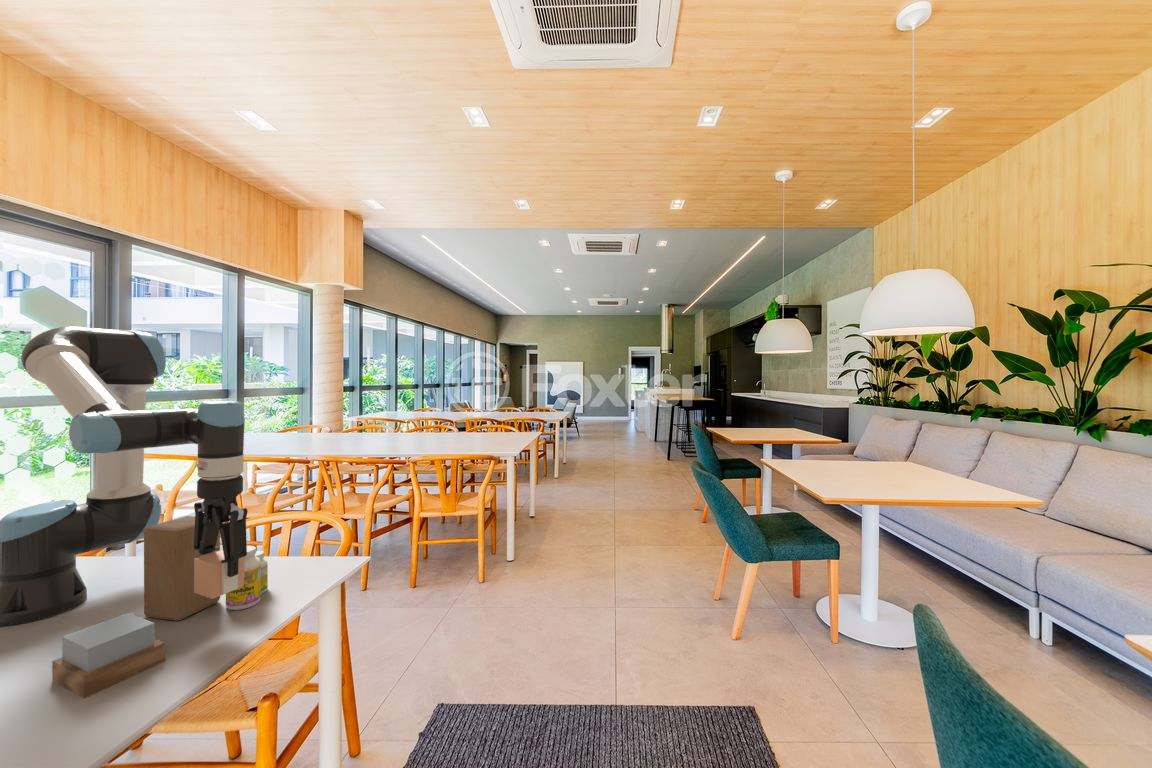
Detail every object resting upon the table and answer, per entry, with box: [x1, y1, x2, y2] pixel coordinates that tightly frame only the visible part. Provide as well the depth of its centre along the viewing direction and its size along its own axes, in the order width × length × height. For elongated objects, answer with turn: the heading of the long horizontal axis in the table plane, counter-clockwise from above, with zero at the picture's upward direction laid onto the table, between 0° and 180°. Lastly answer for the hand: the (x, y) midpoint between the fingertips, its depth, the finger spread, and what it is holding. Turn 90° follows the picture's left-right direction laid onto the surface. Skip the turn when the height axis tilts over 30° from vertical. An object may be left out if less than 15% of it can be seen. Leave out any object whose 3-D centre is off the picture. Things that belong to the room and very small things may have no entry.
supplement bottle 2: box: [255, 550, 269, 595], centre depth 115 cm, size 5×5×10 cm
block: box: [143, 515, 221, 621], centre depth 106 cm, size 10×10×20 cm
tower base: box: [51, 637, 166, 699], centre depth 84 cm, size 11×11×4 cm
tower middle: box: [61, 612, 155, 672], centre depth 84 cm, size 9×9×4 cm
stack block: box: [194, 549, 244, 599], centre depth 96 cm, size 6×6×7 cm
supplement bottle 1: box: [225, 545, 262, 611], centre depth 108 cm, size 7×7×13 cm
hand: (219, 587), depth 96 cm, fingers closed on stack block, 6 cm apart
